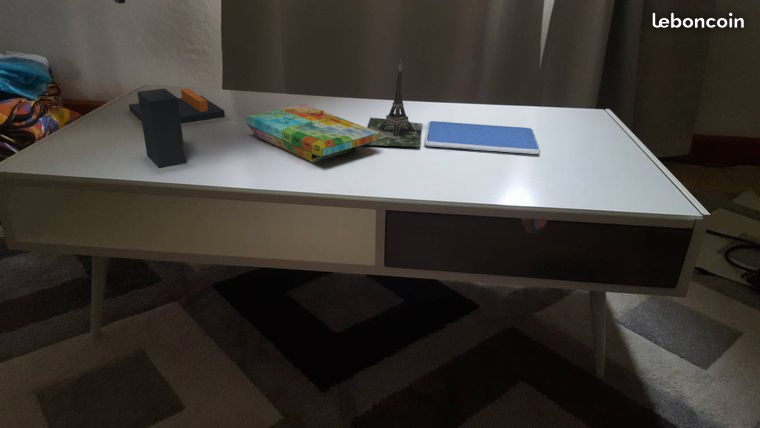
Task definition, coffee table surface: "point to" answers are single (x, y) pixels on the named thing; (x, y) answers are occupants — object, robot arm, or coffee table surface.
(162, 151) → the black block
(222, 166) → the coffee table surface
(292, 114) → the puzzle game
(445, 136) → the tablet
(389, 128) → the eiffel tower figurine
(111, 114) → the coffee table surface
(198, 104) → the base pad
